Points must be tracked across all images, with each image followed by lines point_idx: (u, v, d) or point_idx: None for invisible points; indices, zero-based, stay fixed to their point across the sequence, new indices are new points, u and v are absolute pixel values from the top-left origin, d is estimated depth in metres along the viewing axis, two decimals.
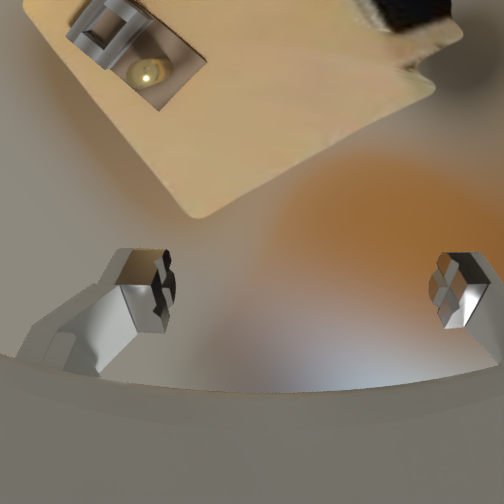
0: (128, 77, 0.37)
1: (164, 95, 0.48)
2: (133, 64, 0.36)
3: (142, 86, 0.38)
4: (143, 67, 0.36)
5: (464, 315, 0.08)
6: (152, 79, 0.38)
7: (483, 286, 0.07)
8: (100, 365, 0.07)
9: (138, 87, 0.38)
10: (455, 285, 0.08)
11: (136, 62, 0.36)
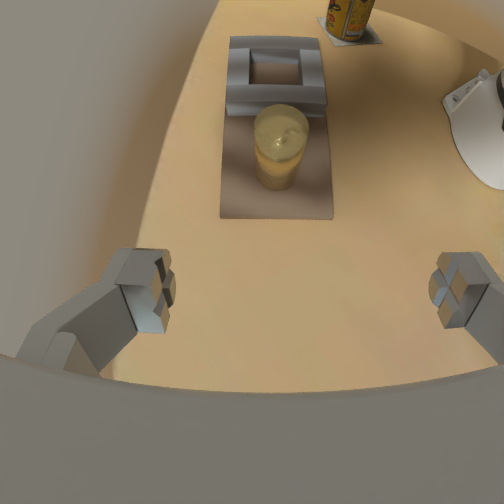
0: (263, 114, 0.24)
1: (247, 205, 0.33)
2: (286, 107, 0.24)
3: (267, 141, 0.24)
4: (295, 122, 0.24)
5: (464, 315, 0.08)
6: (290, 147, 0.24)
7: (483, 286, 0.07)
8: (100, 365, 0.07)
9: (261, 137, 0.24)
10: (455, 284, 0.08)
11: (293, 109, 0.24)
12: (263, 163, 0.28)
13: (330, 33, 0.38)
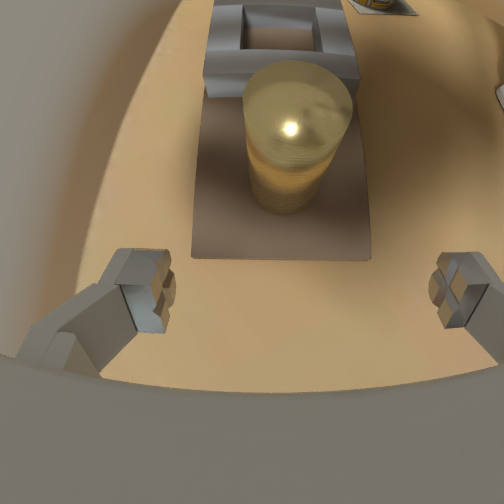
0: (261, 77, 0.12)
1: (235, 239, 0.21)
2: (307, 66, 0.12)
3: (271, 129, 0.11)
4: (325, 94, 0.11)
5: (464, 315, 0.08)
6: (317, 141, 0.11)
7: (483, 286, 0.07)
8: (100, 365, 0.07)
9: (257, 121, 0.11)
10: (455, 284, 0.08)
11: (319, 70, 0.12)
12: (260, 172, 0.15)
13: None
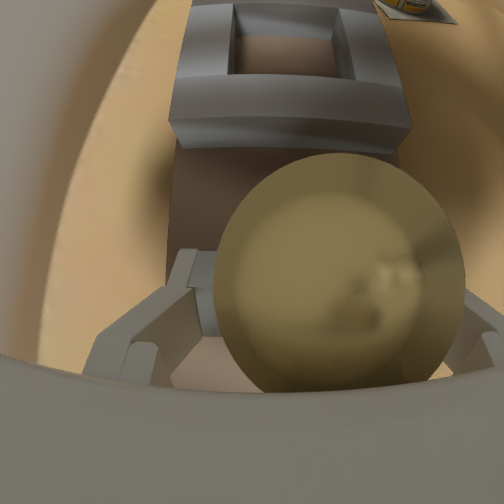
0: (261, 211, 0.05)
1: (224, 373, 0.14)
2: (376, 173, 0.05)
3: (283, 381, 0.05)
4: (415, 262, 0.05)
5: None
6: None
7: None
8: None
9: (249, 356, 0.05)
10: None
11: (402, 184, 0.05)
12: None
13: None
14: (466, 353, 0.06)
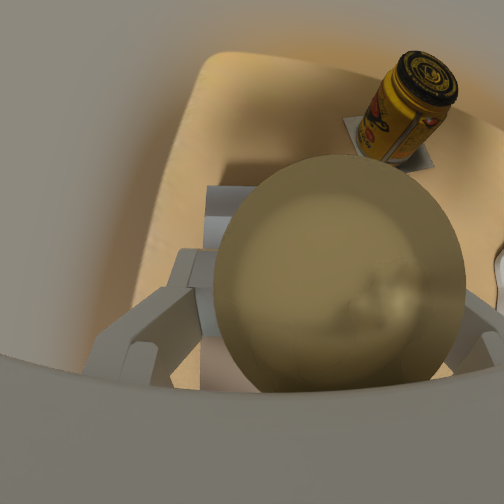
0: (261, 213, 0.05)
1: None
2: (377, 175, 0.05)
3: (283, 382, 0.05)
4: (416, 264, 0.05)
5: None
6: None
7: None
8: None
9: (250, 358, 0.05)
10: None
11: (403, 185, 0.05)
12: None
13: (362, 153, 0.29)
14: (466, 353, 0.06)
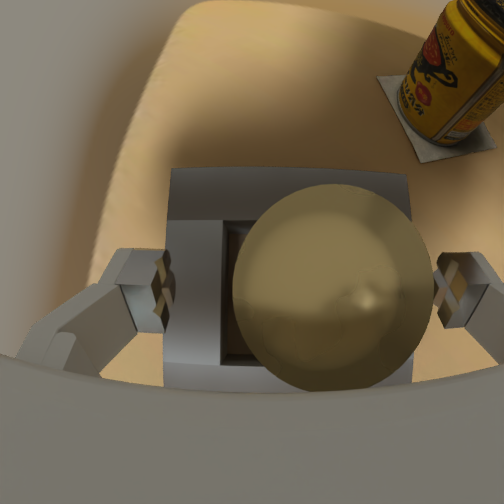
0: (269, 232, 0.06)
1: None
2: (361, 200, 0.06)
3: (287, 364, 0.06)
4: (391, 272, 0.06)
5: (464, 315, 0.08)
6: (367, 379, 0.06)
7: (483, 286, 0.07)
8: (100, 365, 0.07)
9: (261, 344, 0.06)
10: (455, 285, 0.08)
11: (383, 209, 0.06)
12: None
13: (409, 124, 0.18)
14: None
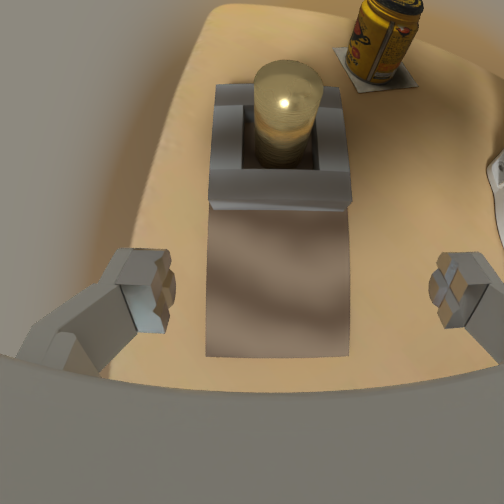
0: (265, 70, 0.18)
1: (240, 343, 0.25)
2: (294, 63, 0.18)
3: (272, 101, 0.18)
4: (305, 80, 0.18)
5: (464, 315, 0.08)
6: (300, 108, 0.18)
7: (483, 286, 0.07)
8: (100, 365, 0.07)
9: (263, 97, 0.18)
10: (455, 285, 0.08)
11: (302, 66, 0.18)
12: (264, 133, 0.22)
13: (351, 73, 0.30)
14: None
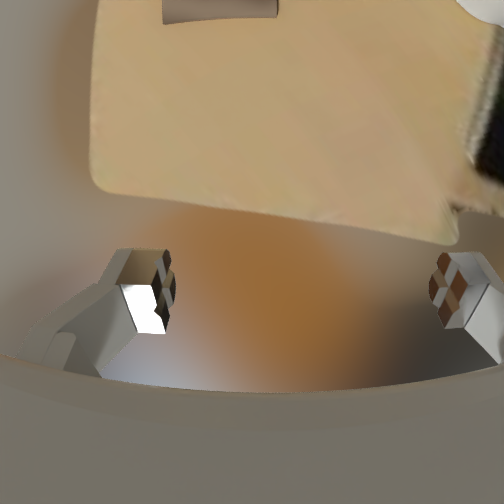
0: None
1: (188, 10, 0.25)
2: None
3: None
4: None
5: (464, 315, 0.08)
6: None
7: (483, 286, 0.07)
8: (100, 365, 0.07)
9: None
10: (455, 284, 0.08)
11: None
12: None
13: None
14: None
